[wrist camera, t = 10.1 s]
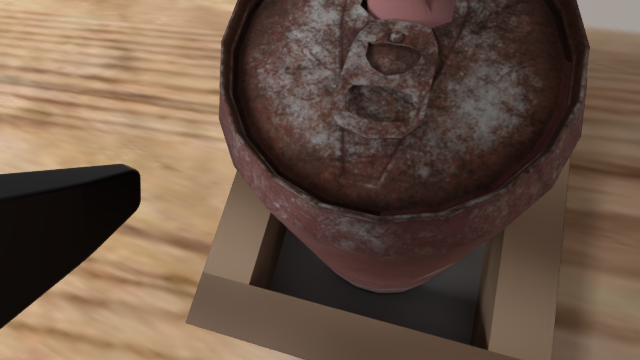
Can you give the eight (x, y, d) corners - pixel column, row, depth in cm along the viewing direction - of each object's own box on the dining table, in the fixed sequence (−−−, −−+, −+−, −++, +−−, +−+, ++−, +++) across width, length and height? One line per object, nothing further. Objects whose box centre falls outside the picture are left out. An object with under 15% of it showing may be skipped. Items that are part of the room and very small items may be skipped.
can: (416, 142, 20) (483, -174, 7) (475, 266, 18) (723, 140, 5) (300, 186, 20) (156, -45, 7) (345, 314, 18) (257, 314, 5)
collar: (512, 410, 17) (544, 432, 13) (218, 322, 19) (185, 322, 16) (545, 123, 20) (576, 85, 17) (294, 83, 23) (280, 43, 20)
